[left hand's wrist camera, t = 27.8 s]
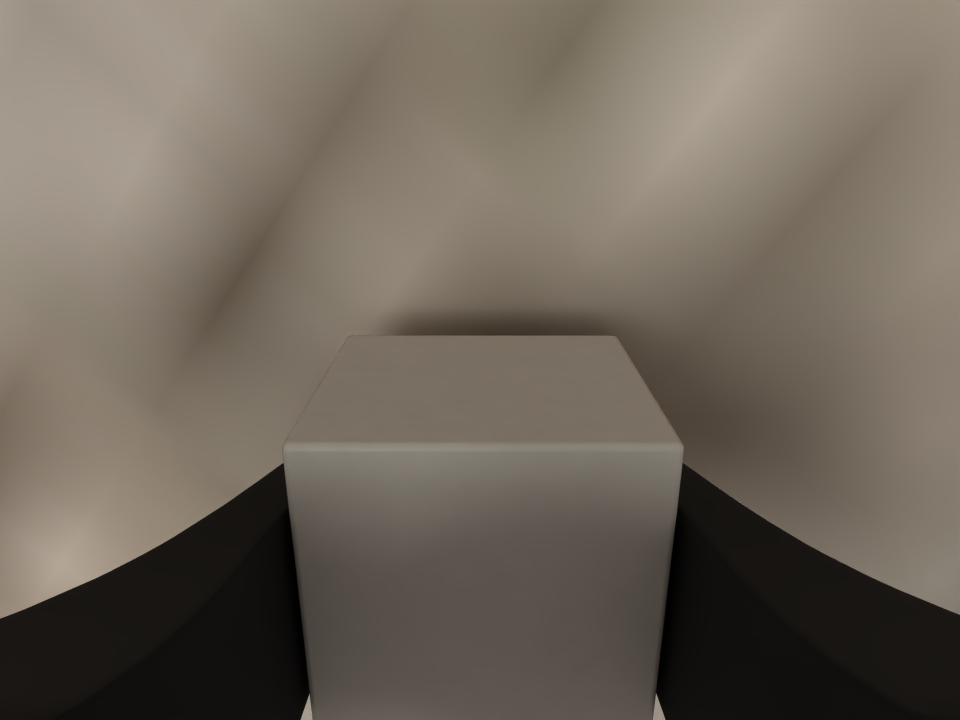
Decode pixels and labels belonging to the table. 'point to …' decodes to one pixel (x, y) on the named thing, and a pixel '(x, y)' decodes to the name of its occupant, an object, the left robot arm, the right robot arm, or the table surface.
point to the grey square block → (482, 530)
